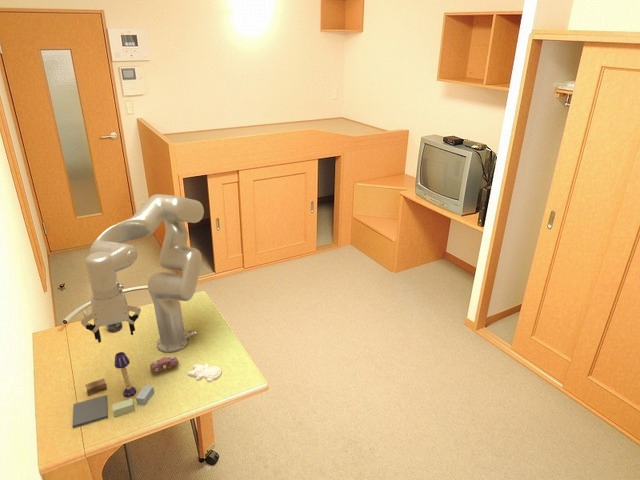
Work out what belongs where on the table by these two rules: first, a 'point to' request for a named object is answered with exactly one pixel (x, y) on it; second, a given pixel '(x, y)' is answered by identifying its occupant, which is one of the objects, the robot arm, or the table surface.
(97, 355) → the table surface
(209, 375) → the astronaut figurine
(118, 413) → the brick
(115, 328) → the supplement bottle
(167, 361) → the video game controller
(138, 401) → the brick
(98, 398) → the pad
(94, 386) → the brick
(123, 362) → the toy lamp
